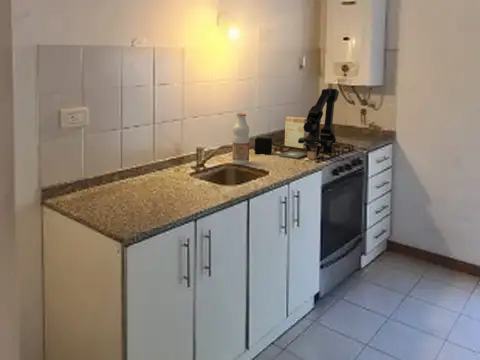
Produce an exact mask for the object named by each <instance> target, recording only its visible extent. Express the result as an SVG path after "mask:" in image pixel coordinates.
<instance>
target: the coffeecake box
mask: <svg viewBox="0 0 480 360" xmlns="http://www.w3.org/2000/svg"><path fill="white" fill-rule="evenodd" d="M306 119H307V117H303V116H294V115H289V116H285V123H284V124H285V126H284V128H285V131H284V147H292V148H297V149H307V148H306V146H305V145H303V144H304V143H303V144H302V143H298V139H299V138H302V137H303V138H306V137H307V136H308V135H309V132H306V131H305V130H304V128H303V126H304V124H305V123H307V121H306Z"/></svg>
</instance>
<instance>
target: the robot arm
mask: <svg viewBox="0 0 480 360" xmlns="http://www.w3.org/2000/svg"><path fill="white" fill-rule="evenodd" d="M339 95H340V92H339V90H338V89H337V88H324V89H322V90H321V93H320V95H319V96H318V99H317V101H316V103H315V104H314V105H313V106H311V108H310V109H309V110H308V114H307V116H306V118H307V119H306V121H307V123H305V124H304V126H303V128H304V130H305V131H306V132H309V135H308V136H307V137H306V138H303V137H302V138H299V139H298V143H302V144H303V143H304V144H303V145H305V146H306V148H305V149H306V150H307V152H308V151H311V150H312V145H314V144H317V145H316V150H317V157H318V155H319V153H326V154H328V153H329V154H331V153H334V152H335V151H334V150H333V145H334V144H336V143H337V138H336V135H335V130H334V127H333V119H334V113H335V112H334V111H335V103H336V102H337V100H338V98H339ZM325 106H326V108H325V115H324V111H323V109H324V107H325ZM323 116H325V117H324V126H323V127H322V128H321V122H322V118H323ZM320 128H321V129H320ZM318 158H319V157H318Z"/></svg>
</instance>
